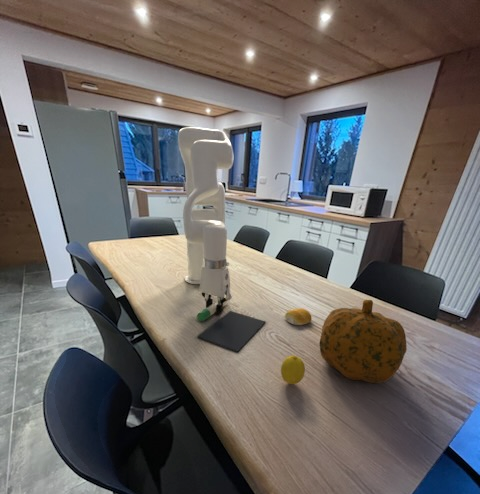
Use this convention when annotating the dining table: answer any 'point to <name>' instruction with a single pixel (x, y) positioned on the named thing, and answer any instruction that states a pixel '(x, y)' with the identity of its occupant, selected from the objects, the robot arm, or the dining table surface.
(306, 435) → the dining table surface
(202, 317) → the marker
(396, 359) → the decorative pumpkin
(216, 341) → the felt mat
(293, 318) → the bread roll
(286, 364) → the lemon
